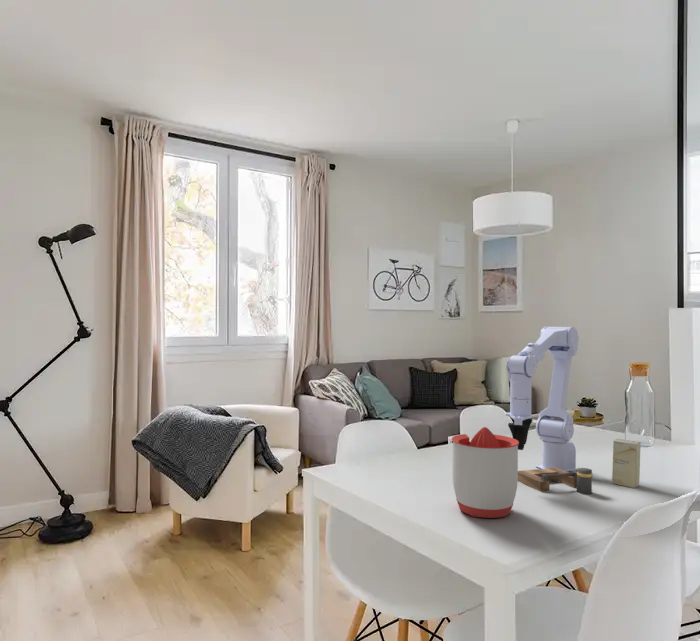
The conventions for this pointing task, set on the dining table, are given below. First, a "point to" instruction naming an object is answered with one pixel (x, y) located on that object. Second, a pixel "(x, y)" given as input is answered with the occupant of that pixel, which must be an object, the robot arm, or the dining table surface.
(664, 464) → the dining table surface
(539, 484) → the wooden bracket with rod
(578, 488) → the grey cylinder with band
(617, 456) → the skincare box
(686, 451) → the dining table surface
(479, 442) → the citrus juicer
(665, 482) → the dining table surface
